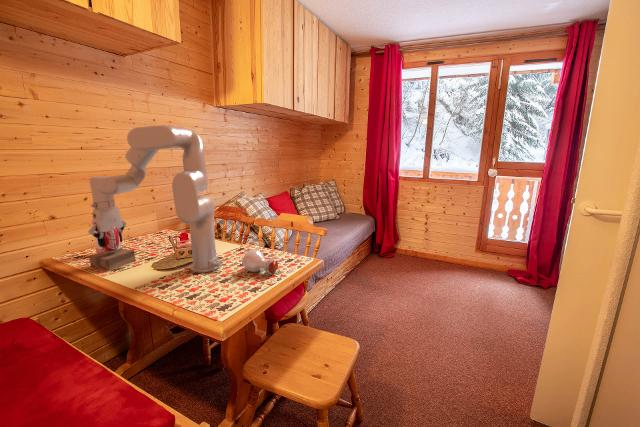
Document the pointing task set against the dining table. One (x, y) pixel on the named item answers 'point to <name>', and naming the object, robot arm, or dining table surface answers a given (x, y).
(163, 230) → the dining table surface
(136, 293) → the dining table surface
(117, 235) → the soda can
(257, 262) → the potion bottle
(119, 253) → the walnut block
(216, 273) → the dining table surface
